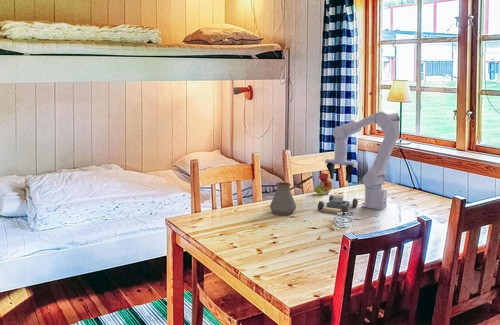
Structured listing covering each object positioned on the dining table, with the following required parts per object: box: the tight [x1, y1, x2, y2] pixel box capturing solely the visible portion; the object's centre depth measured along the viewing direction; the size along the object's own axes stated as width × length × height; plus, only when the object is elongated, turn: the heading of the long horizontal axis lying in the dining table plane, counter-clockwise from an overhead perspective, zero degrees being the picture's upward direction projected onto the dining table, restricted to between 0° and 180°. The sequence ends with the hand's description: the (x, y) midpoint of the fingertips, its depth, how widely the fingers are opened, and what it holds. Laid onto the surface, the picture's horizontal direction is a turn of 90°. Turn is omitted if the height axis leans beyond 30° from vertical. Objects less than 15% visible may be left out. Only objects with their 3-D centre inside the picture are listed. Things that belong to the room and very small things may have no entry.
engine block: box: [333, 194, 344, 205], centre depth 226 cm, size 4×4×5 cm
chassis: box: [317, 194, 359, 215], centre depth 226 cm, size 18×12×4 cm
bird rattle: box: [313, 171, 333, 196], centre depth 252 cm, size 6×11×9 cm
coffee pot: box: [269, 175, 316, 216], centre depth 220 cm, size 21×12×15 cm, turn 117°
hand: (339, 179), depth 242 cm, fingers open, 7 cm apart
